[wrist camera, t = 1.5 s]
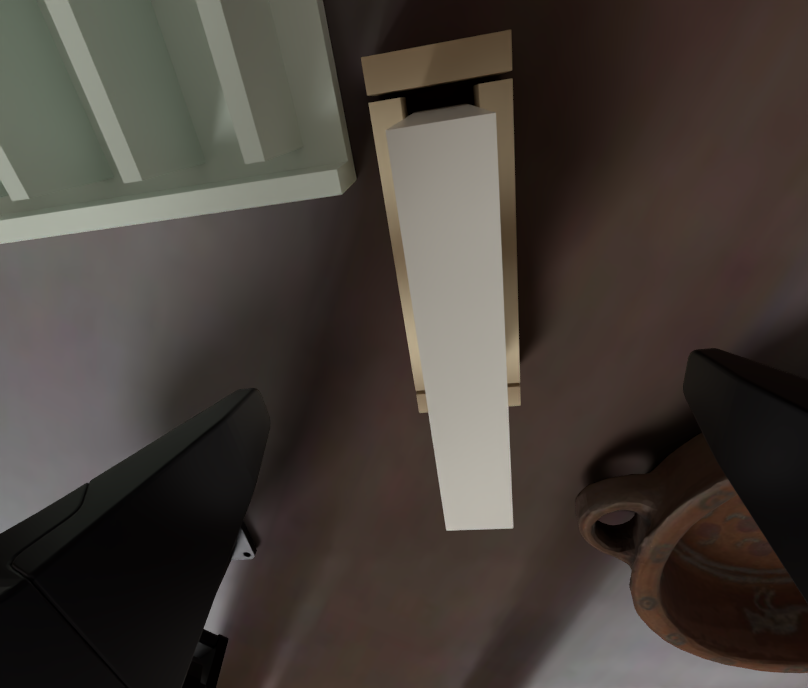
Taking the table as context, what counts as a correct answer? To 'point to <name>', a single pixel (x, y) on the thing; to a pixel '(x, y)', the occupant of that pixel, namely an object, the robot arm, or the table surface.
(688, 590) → the dish
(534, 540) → the table surface
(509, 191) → the stand
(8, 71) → the rack
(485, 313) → the white slab
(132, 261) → the table surface
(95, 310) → the table surface
